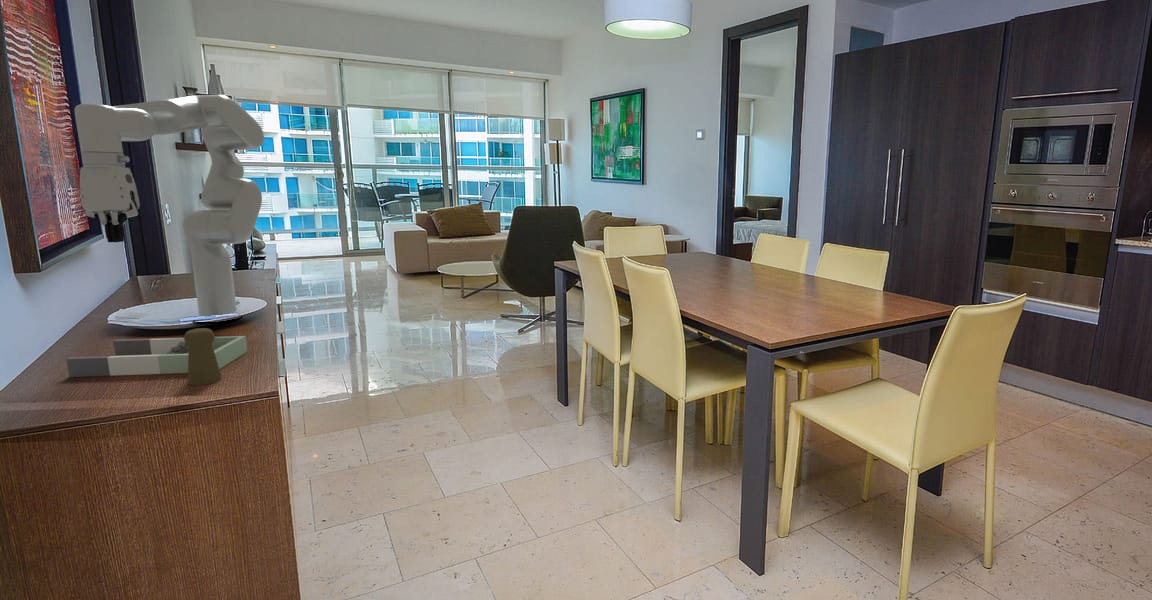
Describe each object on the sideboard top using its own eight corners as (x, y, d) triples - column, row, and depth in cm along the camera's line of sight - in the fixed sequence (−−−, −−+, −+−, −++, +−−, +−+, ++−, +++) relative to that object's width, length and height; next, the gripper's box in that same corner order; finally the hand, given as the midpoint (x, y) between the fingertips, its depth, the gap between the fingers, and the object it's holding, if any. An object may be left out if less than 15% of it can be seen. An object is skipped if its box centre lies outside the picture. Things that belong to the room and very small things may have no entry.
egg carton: (197, 366, 128) (193, 349, 127) (159, 370, 127) (155, 353, 126) (217, 351, 138) (214, 335, 137) (183, 355, 137) (179, 338, 136)
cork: (221, 382, 120) (215, 330, 118) (186, 387, 117) (179, 334, 115) (222, 374, 125) (216, 324, 123) (188, 379, 122) (181, 327, 120)
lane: (118, 355, 139) (116, 339, 138) (247, 351, 142) (245, 335, 142) (69, 377, 124) (66, 358, 123) (215, 371, 127) (213, 354, 126)
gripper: (148, 162, 137) (159, 240, 141) (80, 162, 136) (92, 240, 139) (128, 160, 130) (140, 242, 133) (55, 160, 128) (69, 243, 132)
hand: (116, 241), depth 136 cm, fingers closed
